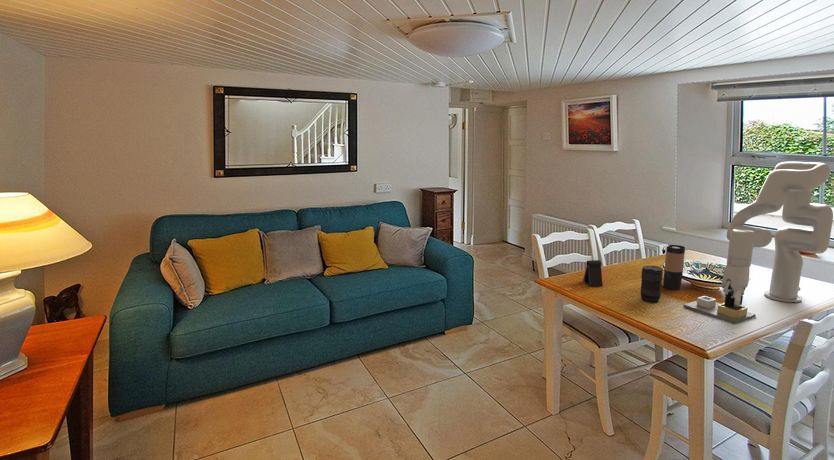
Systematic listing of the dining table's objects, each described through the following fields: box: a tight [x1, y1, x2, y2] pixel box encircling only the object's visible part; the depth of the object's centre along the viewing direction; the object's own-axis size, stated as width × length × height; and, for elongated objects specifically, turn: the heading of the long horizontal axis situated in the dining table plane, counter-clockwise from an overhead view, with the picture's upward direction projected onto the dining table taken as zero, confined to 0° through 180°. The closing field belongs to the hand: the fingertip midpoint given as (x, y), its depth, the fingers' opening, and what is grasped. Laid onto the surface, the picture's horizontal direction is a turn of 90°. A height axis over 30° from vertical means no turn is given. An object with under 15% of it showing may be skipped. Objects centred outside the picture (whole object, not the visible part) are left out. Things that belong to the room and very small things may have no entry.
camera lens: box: [640, 265, 664, 304], centre depth 191 cm, size 8×8×15 cm
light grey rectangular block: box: [726, 288, 742, 310], centre depth 172 cm, size 4×4×10 cm
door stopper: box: [582, 259, 604, 288], centre depth 214 cm, size 9×6×12 cm, turn 3°
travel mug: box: [662, 244, 686, 291], centre depth 206 cm, size 8×8×20 cm
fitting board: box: [683, 295, 757, 325], centre depth 178 cm, size 14×20×4 cm
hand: (733, 304), depth 173 cm, fingers open, 4 cm apart
